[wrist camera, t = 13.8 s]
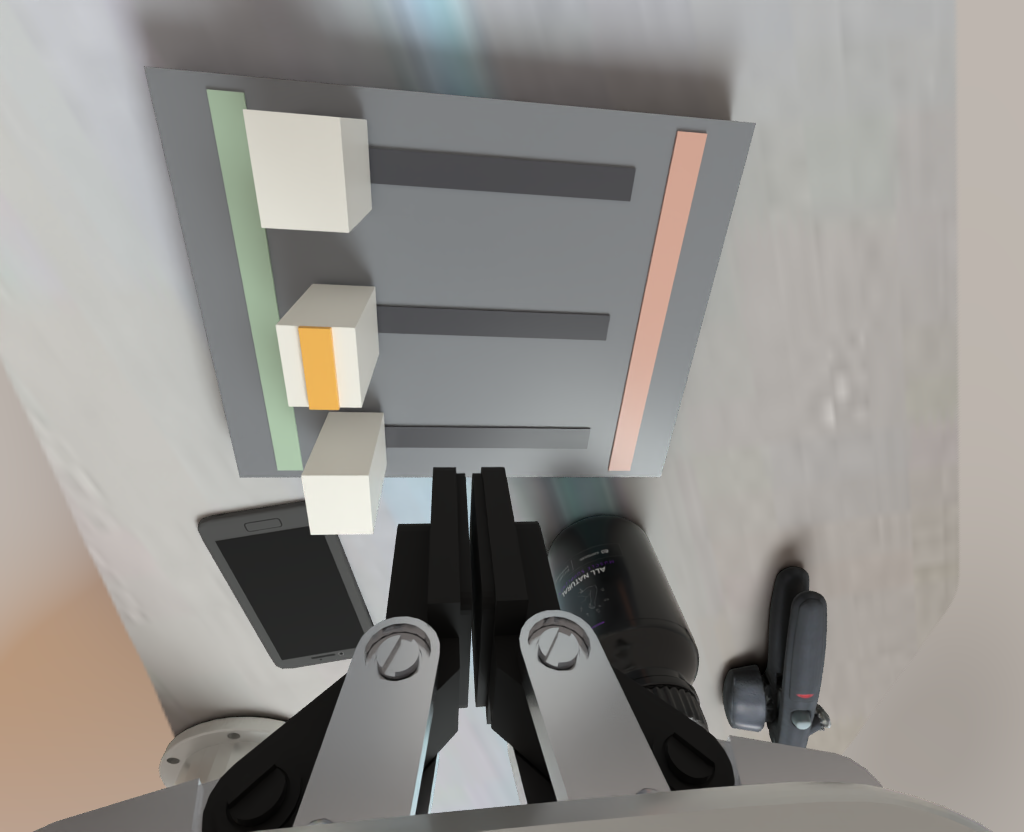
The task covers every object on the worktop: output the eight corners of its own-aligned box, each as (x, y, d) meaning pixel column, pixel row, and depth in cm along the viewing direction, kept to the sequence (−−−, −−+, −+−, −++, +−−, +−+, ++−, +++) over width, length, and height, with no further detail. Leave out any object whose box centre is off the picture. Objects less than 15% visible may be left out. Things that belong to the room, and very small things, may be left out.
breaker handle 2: (386, 464, 25) (373, 533, 21) (335, 464, 25) (310, 534, 21) (383, 412, 24) (368, 475, 20) (329, 411, 24) (301, 475, 19)
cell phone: (324, 493, 29) (321, 502, 29) (383, 645, 36) (382, 654, 36) (196, 514, 29) (191, 522, 28) (281, 662, 36) (278, 672, 35)
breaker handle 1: (372, 209, 20) (348, 232, 15) (304, 205, 19) (261, 227, 15) (366, 119, 18) (339, 117, 14) (293, 113, 18) (242, 109, 13)
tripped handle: (379, 353, 22) (360, 410, 18) (320, 352, 22) (286, 409, 18) (375, 286, 21) (353, 329, 16) (312, 283, 21) (273, 327, 16)
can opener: (788, 697, 45) (829, 766, 40) (712, 708, 44) (743, 779, 40) (838, 552, 36) (898, 618, 31) (743, 564, 36) (789, 633, 31)
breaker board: (648, 456, 30) (661, 478, 28) (253, 454, 27) (239, 478, 25) (731, 123, 21) (757, 123, 20) (172, 71, 19) (142, 66, 17)
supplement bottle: (561, 504, 31) (616, 695, 20) (662, 517, 32) (761, 702, 22) (532, 583, 34) (567, 783, 24) (625, 592, 35) (697, 784, 25)
